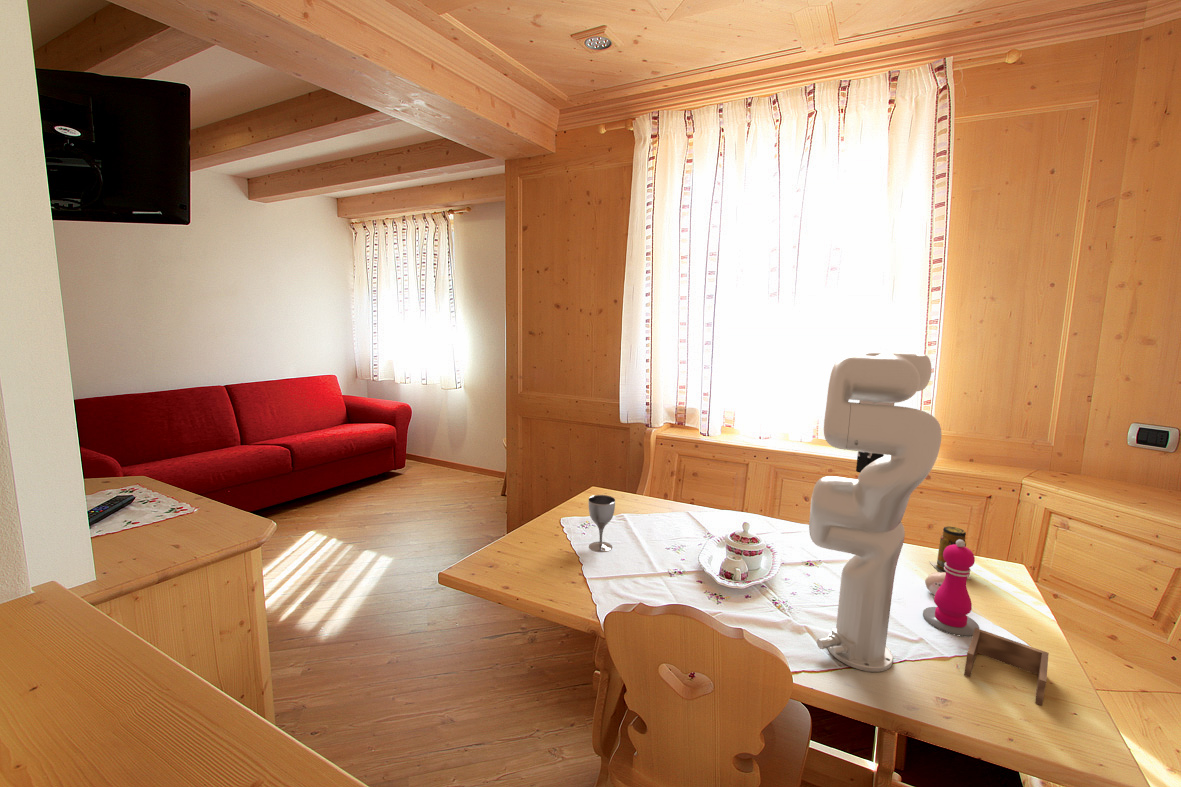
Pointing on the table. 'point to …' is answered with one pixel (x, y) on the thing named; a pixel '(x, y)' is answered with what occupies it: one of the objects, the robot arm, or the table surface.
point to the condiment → (948, 539)
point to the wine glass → (601, 518)
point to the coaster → (962, 631)
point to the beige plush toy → (935, 581)
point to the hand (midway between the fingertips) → (869, 468)
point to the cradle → (1009, 657)
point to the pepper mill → (955, 586)
